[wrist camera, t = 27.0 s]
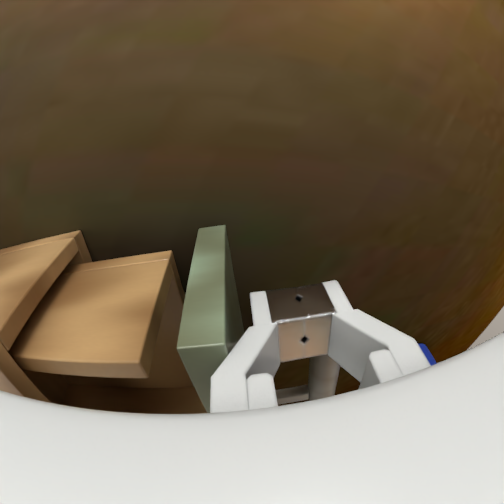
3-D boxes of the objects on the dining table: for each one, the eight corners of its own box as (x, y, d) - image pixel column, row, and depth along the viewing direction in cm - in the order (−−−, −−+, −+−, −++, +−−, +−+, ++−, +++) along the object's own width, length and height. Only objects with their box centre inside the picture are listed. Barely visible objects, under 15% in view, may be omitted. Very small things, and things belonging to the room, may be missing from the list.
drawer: (320, 212, 12) (394, 314, 6) (314, 370, 18) (338, 458, 12) (0, 264, 12) (-60, 336, 6) (75, 383, 18) (53, 452, 12)
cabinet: (80, 229, 13) (-15, 351, 5) (153, 381, 19) (139, 485, 11) (-47, 263, 12) (-103, 328, 5) (20, 371, 19) (-8, 439, 11)
